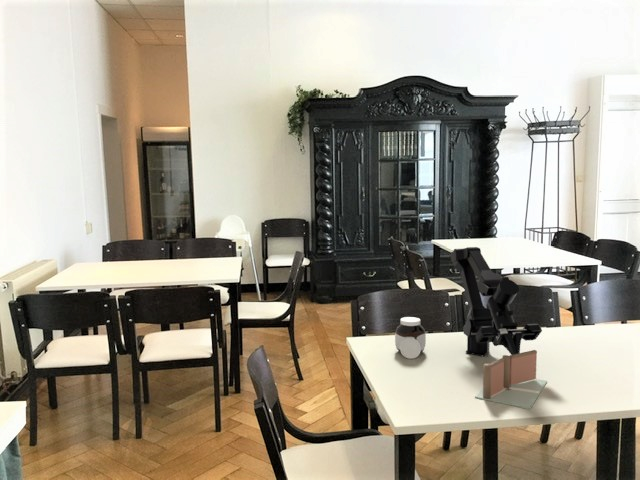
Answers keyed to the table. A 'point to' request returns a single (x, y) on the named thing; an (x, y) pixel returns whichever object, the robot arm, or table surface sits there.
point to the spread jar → (410, 337)
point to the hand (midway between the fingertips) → (517, 359)
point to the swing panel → (519, 368)
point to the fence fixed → (493, 378)
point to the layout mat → (518, 394)
